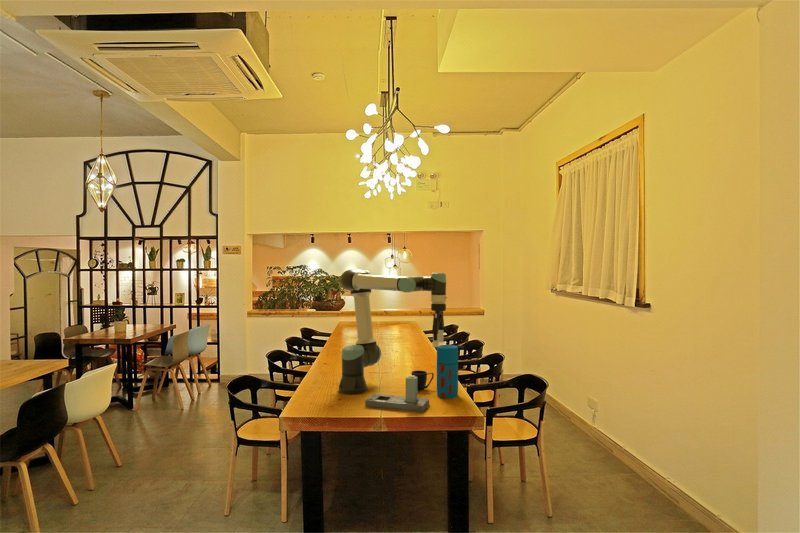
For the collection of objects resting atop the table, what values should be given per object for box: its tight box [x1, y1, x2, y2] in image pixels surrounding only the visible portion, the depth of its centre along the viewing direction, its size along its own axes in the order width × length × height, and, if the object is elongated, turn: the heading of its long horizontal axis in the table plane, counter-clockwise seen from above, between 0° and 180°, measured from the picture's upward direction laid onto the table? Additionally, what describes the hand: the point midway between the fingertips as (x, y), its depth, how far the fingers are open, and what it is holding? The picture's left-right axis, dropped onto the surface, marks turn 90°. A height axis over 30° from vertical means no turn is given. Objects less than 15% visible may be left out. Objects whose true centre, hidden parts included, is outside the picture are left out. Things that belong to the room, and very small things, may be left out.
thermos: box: [436, 344, 459, 400], centre depth 231 cm, size 11×11×25 cm
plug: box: [405, 374, 418, 403], centre depth 212 cm, size 4×4×15 cm
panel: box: [364, 393, 430, 414], centre depth 214 cm, size 28×12×3 cm, turn 72°
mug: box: [411, 370, 435, 392], centre depth 242 cm, size 8×12×10 cm
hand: (438, 344), depth 231 cm, fingers open, 13 cm apart
